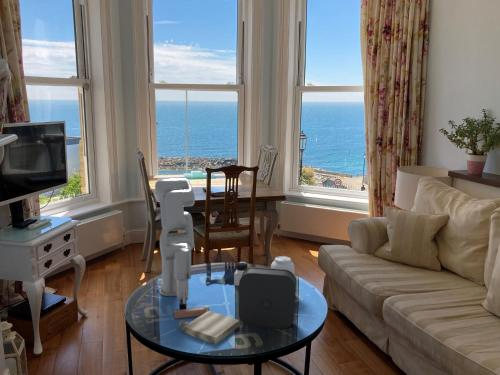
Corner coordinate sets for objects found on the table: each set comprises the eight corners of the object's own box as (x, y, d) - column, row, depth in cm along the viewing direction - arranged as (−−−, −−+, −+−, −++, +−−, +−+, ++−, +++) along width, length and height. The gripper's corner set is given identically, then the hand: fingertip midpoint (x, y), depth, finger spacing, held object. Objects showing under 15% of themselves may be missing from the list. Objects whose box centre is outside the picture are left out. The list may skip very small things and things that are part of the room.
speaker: (294, 321, 202) (296, 270, 197) (293, 331, 193) (295, 277, 189) (240, 317, 205) (241, 266, 201) (237, 326, 197) (238, 273, 192)
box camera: (246, 286, 240) (247, 266, 238) (233, 285, 242) (234, 264, 239) (249, 281, 247) (249, 261, 245) (236, 280, 248) (237, 260, 246)
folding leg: (208, 312, 209) (208, 305, 208) (209, 314, 206) (209, 307, 206) (174, 316, 204) (174, 309, 203) (175, 318, 201) (175, 311, 201)
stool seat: (177, 330, 191) (177, 323, 191) (202, 314, 207) (202, 307, 206) (215, 344, 181) (215, 336, 180) (239, 326, 196) (239, 319, 196)
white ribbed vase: (298, 294, 232) (299, 258, 229) (283, 301, 223) (285, 264, 219) (279, 287, 240) (280, 252, 237) (265, 294, 231) (266, 258, 228)
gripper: (173, 269, 210) (173, 305, 213) (176, 281, 195) (176, 319, 199) (189, 268, 211) (189, 303, 215) (192, 280, 197) (192, 318, 200)
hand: (183, 311), depth 207 cm, fingers closed
